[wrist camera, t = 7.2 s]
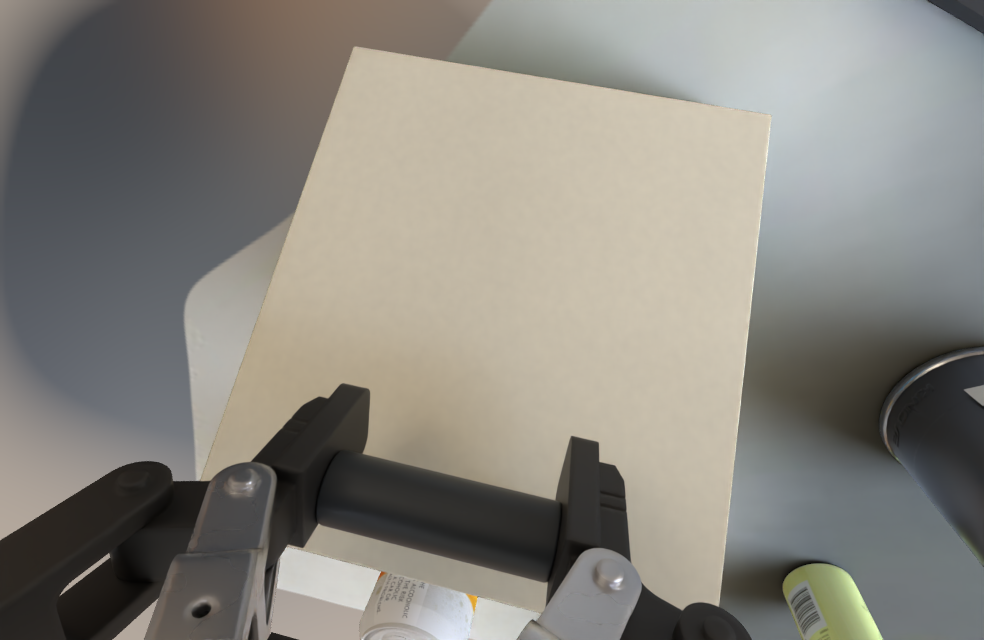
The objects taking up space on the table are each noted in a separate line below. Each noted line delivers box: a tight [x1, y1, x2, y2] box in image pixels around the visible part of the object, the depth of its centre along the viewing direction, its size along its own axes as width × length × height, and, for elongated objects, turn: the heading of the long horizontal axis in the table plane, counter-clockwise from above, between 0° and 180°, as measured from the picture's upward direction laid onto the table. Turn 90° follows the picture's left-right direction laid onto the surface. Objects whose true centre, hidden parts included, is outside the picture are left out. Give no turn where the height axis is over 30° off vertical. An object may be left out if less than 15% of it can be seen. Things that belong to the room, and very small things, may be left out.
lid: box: [200, 46, 772, 614], centre depth 16 cm, size 18×16×5 cm
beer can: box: [359, 571, 478, 640], centre depth 34 cm, size 6×6×15 cm
